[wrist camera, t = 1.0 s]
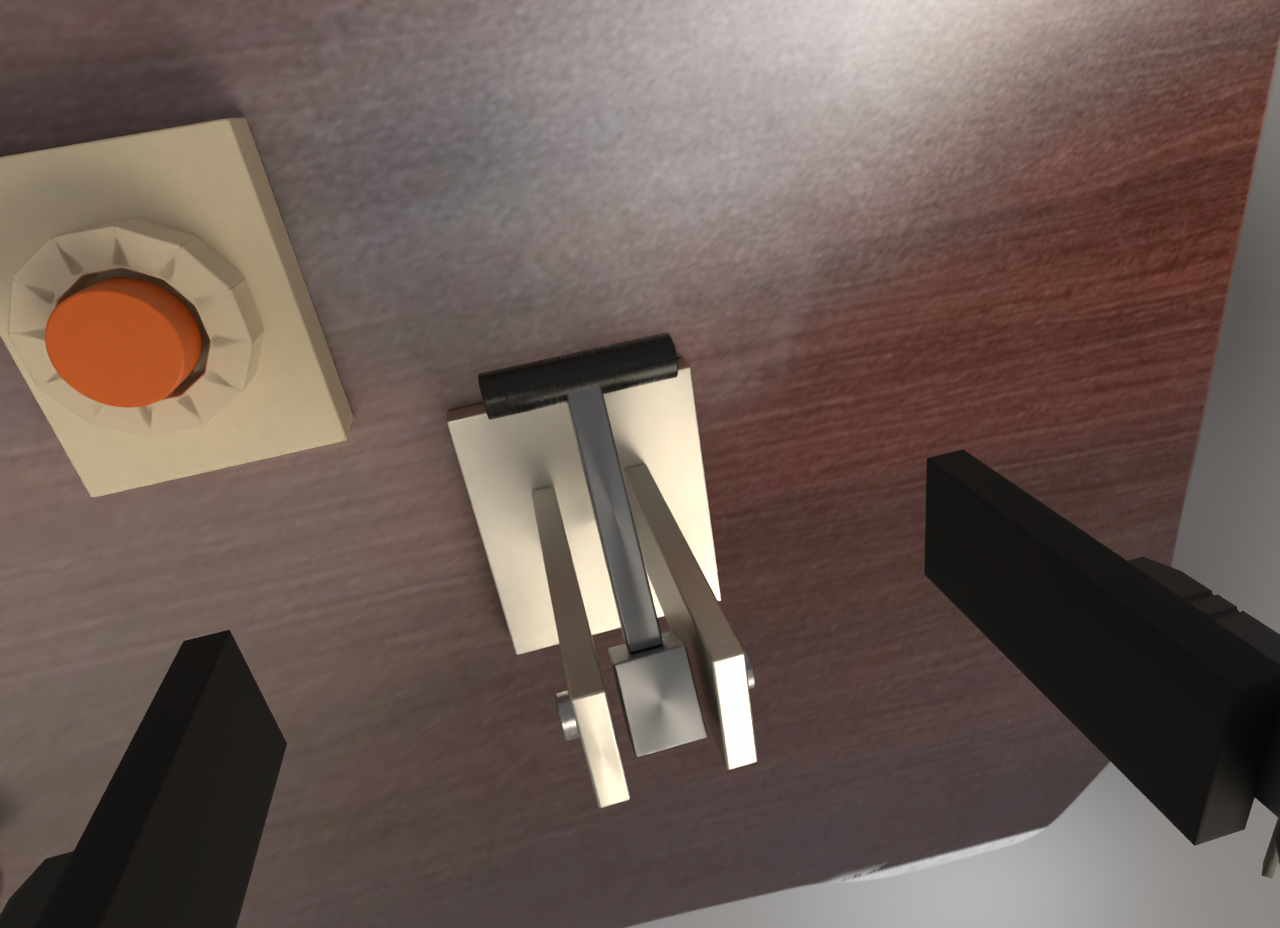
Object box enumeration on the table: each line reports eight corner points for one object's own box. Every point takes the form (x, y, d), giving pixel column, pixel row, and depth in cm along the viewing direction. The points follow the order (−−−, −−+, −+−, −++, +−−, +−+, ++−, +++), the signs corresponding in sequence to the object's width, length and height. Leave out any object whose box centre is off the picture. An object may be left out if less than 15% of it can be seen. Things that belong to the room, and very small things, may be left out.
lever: (481, 380, 24) (473, 367, 22) (661, 340, 25) (672, 324, 23) (570, 749, 24) (572, 777, 22) (748, 698, 25) (769, 720, 22)
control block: (-49, 167, 24) (-137, 178, 20) (245, 116, 25) (211, 119, 21) (115, 472, 29) (67, 523, 25) (354, 419, 30) (340, 461, 26)
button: (47, 290, 23) (17, 303, 21) (172, 266, 23) (152, 277, 22) (104, 400, 24) (80, 420, 23) (220, 375, 25) (204, 394, 23)
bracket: (446, 410, 31) (438, 613, 18) (683, 357, 32) (823, 514, 20) (514, 640, 36) (543, 913, 24) (714, 587, 37) (839, 821, 25)
